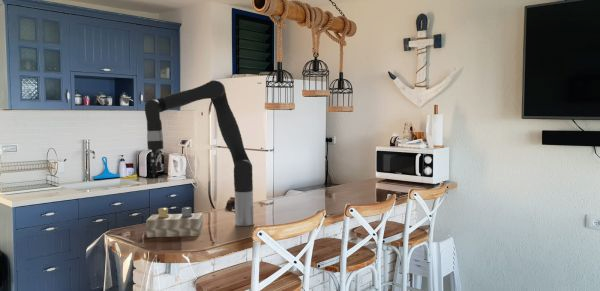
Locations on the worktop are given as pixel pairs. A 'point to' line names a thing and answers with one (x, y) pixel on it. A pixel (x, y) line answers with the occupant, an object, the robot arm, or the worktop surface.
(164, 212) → the brass peg
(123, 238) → the worktop surface
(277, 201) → the worktop surface
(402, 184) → the worktop surface
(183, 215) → the steel peg
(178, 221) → the ash socket block
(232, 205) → the pottery mug
